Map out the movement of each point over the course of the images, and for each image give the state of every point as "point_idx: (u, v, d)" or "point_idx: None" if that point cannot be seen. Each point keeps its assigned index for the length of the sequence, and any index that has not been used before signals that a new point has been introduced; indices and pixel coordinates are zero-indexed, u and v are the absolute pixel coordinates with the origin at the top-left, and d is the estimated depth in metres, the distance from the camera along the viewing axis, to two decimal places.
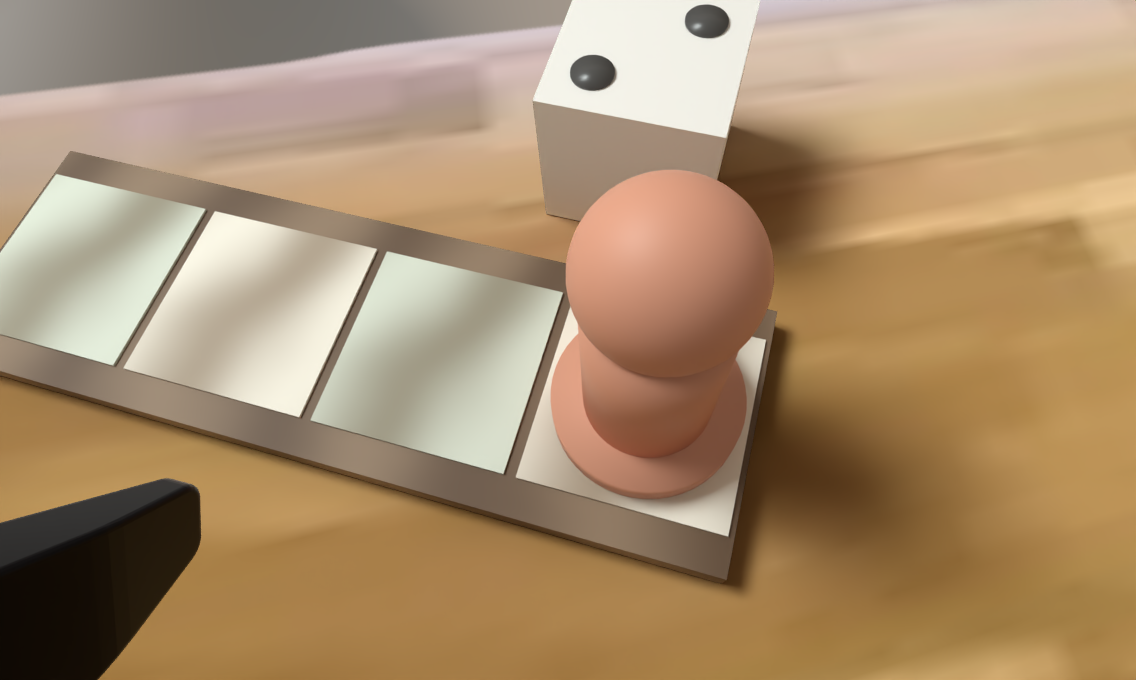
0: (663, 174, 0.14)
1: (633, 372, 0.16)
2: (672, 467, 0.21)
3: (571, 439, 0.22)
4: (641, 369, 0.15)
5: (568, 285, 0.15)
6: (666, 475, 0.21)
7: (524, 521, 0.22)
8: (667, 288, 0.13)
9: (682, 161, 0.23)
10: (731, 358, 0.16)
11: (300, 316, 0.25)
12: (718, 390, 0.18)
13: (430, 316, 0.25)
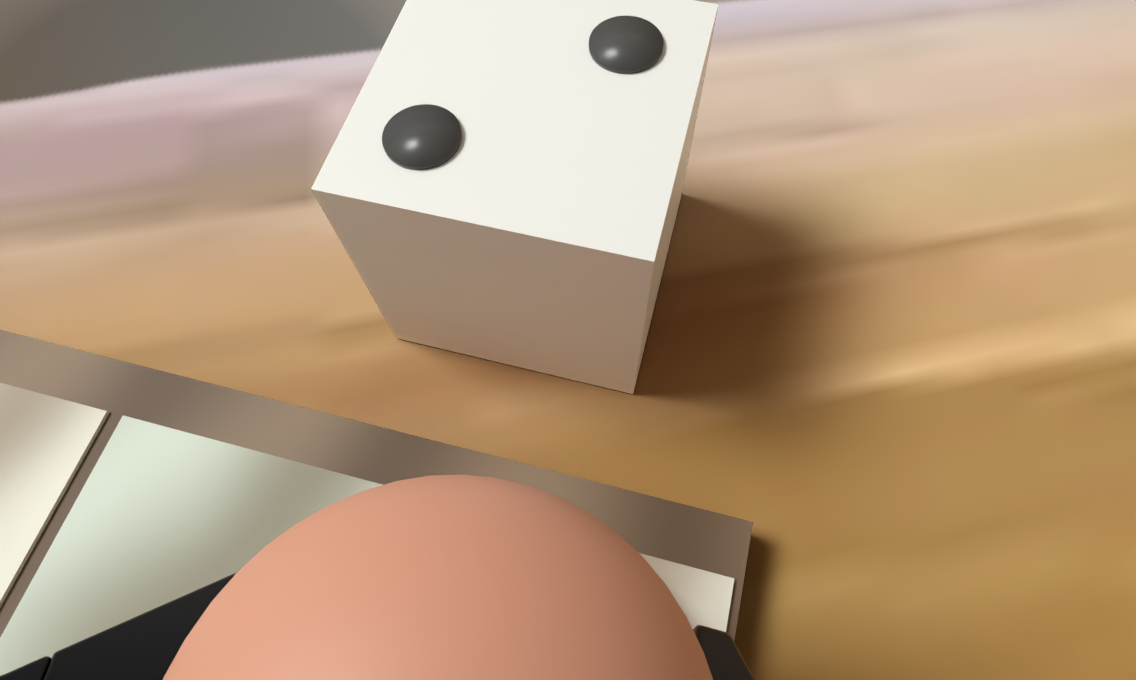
0: (382, 555, 0.05)
1: None
2: None
3: None
4: None
5: None
6: None
7: None
8: None
9: (584, 289, 0.13)
10: None
11: None
12: None
13: (177, 535, 0.15)
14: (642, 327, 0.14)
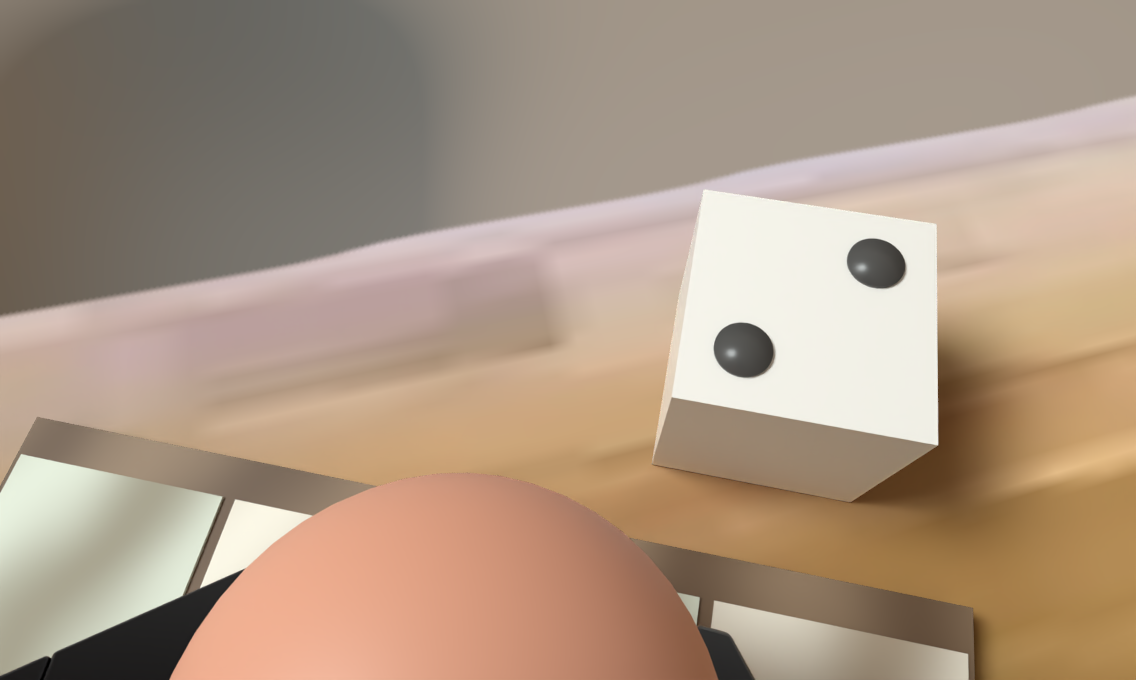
0: (390, 552, 0.05)
1: None
2: None
3: None
4: None
5: None
6: None
7: None
8: None
9: (862, 453, 0.17)
10: None
11: None
12: None
13: None
14: (895, 472, 0.18)
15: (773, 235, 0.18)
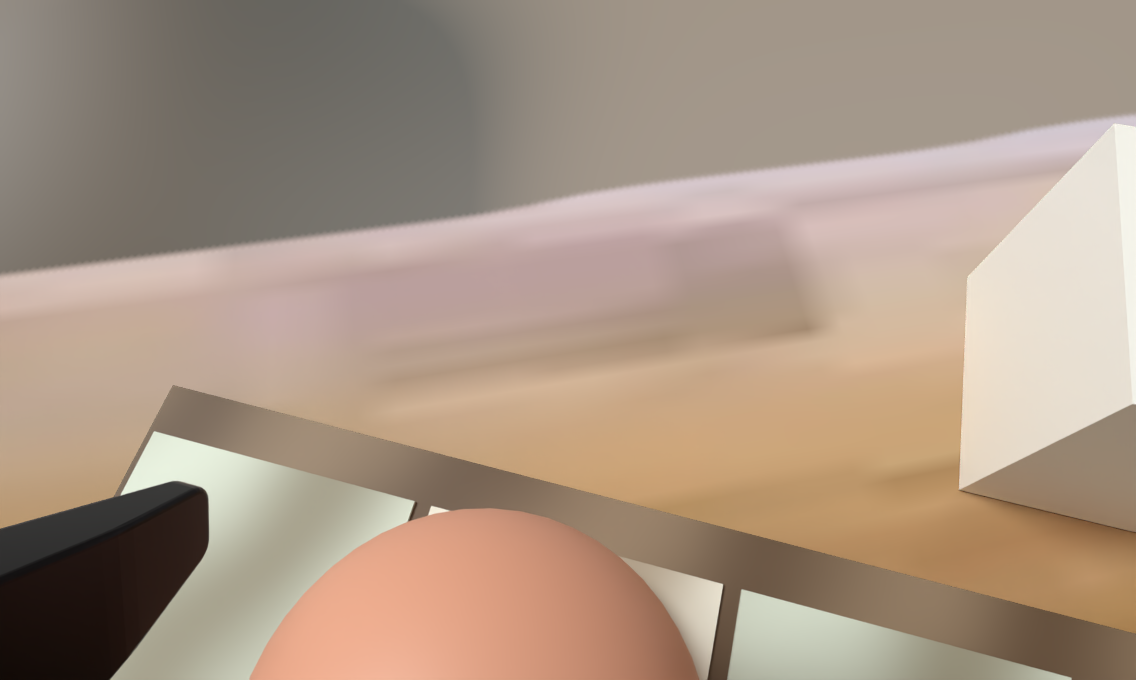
0: (432, 582, 0.06)
1: None
2: None
3: None
4: None
5: None
6: None
7: None
8: None
9: None
10: None
11: None
12: None
13: None
14: None
15: None
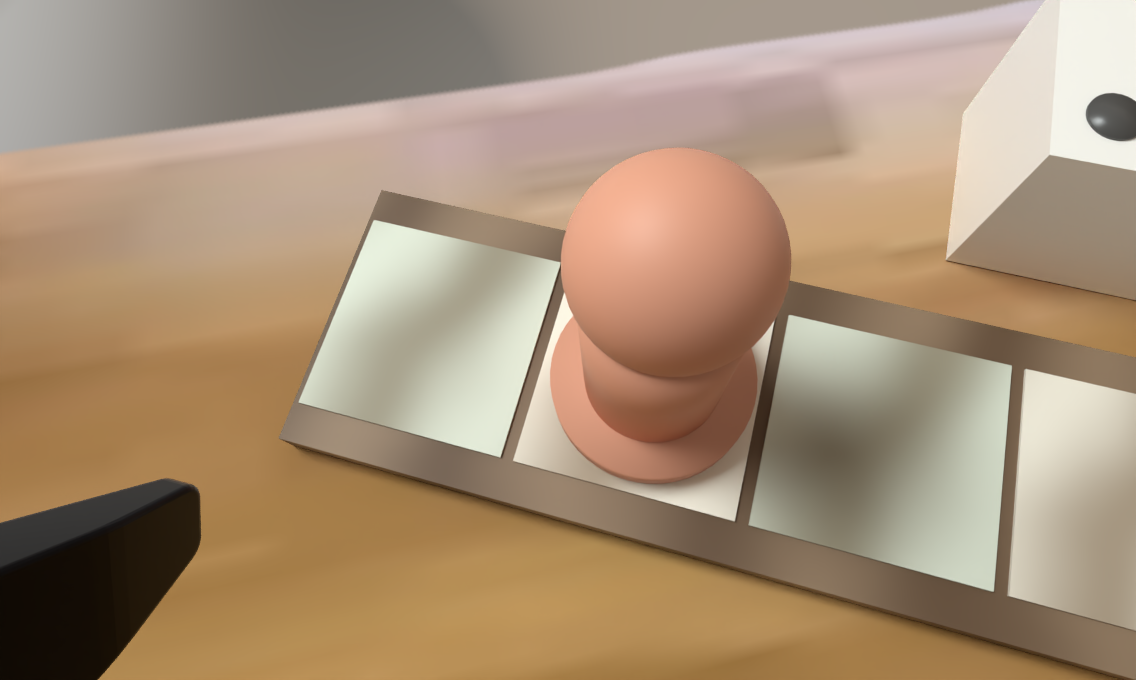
0: (668, 155, 0.13)
1: (636, 370, 0.14)
2: (678, 452, 0.20)
3: (573, 423, 0.20)
4: (644, 370, 0.14)
5: (563, 279, 0.14)
6: (672, 461, 0.20)
7: (1029, 649, 0.19)
8: (672, 289, 0.12)
9: None
10: None
11: None
12: (728, 380, 0.17)
13: (860, 396, 0.21)
14: None
15: (1135, 19, 0.19)
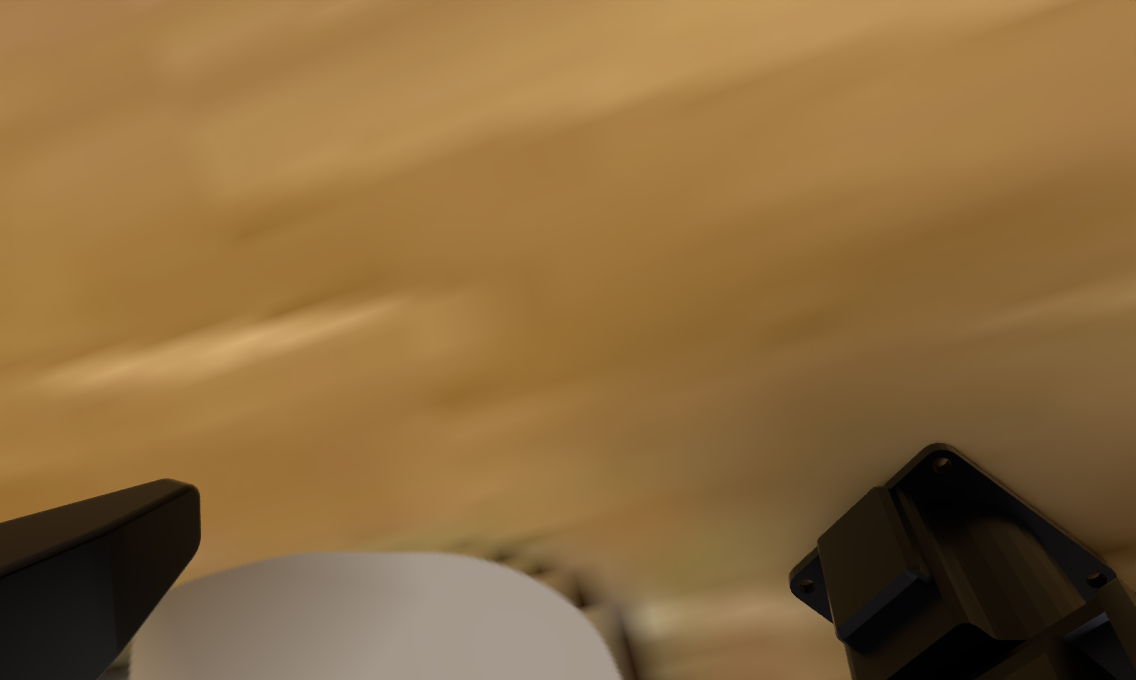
0: None
1: None
2: None
3: None
4: None
5: None
6: None
7: None
8: None
9: None
10: None
11: None
12: None
13: None
14: None
15: None
